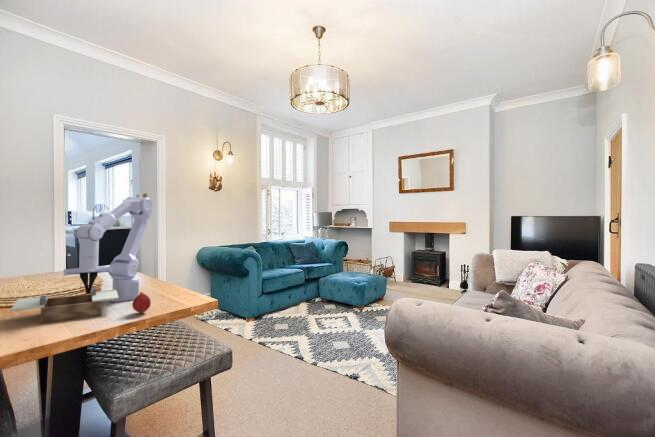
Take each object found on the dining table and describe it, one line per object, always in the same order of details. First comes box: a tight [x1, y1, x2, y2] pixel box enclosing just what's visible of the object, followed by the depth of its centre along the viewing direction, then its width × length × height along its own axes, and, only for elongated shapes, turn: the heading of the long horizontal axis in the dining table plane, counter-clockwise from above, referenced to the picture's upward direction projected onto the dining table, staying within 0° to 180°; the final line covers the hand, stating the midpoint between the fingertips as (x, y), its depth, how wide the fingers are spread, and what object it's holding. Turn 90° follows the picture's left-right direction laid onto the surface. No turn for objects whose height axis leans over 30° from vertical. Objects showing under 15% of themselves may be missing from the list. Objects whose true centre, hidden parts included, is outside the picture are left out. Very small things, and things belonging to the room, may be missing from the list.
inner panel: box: [91, 286, 119, 302], centre depth 119 cm, size 8×13×3 cm, turn 37°
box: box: [40, 293, 102, 324], centre depth 113 cm, size 16×13×5 cm
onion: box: [131, 291, 152, 315], centre depth 117 cm, size 6×6×8 cm
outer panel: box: [10, 295, 49, 312], centre depth 106 cm, size 8×13×3 cm, turn 37°
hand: (88, 292), depth 118 cm, fingers closed
